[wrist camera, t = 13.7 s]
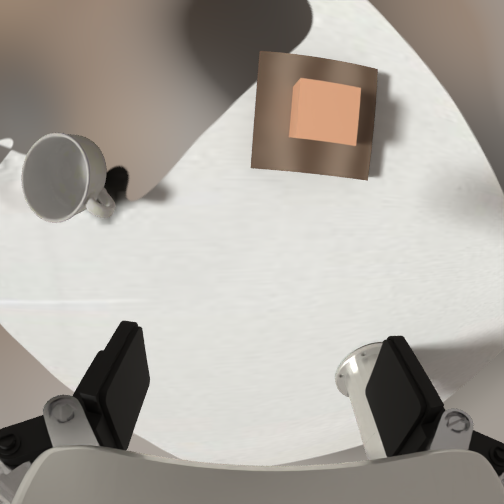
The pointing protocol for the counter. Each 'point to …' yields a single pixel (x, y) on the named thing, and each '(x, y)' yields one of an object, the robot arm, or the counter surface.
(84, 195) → the teacup
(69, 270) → the counter surface
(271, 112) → the walnut base
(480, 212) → the counter surface
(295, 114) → the terracotta cube
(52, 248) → the counter surface
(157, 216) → the counter surface
